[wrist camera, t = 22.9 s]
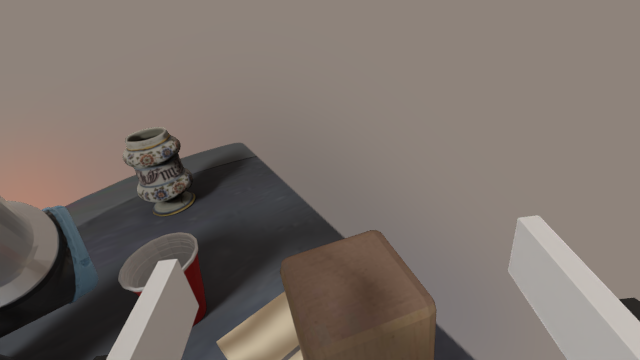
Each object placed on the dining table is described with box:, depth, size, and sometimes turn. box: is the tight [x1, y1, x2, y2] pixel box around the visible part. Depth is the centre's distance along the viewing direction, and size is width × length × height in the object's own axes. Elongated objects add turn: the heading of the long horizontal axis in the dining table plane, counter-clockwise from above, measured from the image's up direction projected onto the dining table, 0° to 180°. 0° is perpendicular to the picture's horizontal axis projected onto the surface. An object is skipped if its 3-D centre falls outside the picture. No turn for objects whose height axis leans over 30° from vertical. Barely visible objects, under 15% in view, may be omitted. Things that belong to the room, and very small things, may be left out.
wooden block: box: [280, 230, 436, 360], centre depth 33 cm, size 10×10×20 cm
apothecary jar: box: [123, 127, 195, 216], centre depth 78 cm, size 12×12×18 cm
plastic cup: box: [118, 232, 206, 326], centre depth 51 cm, size 11×11×12 cm
